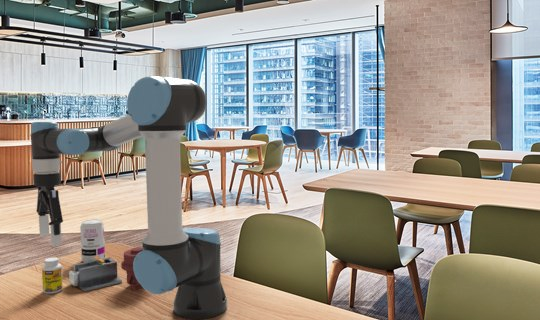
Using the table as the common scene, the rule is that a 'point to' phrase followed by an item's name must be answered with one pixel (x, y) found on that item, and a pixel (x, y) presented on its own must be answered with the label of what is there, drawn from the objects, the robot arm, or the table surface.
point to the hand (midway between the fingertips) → (50, 240)
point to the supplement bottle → (52, 276)
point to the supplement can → (92, 240)
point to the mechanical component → (131, 267)
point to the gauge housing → (97, 274)
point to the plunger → (75, 274)
